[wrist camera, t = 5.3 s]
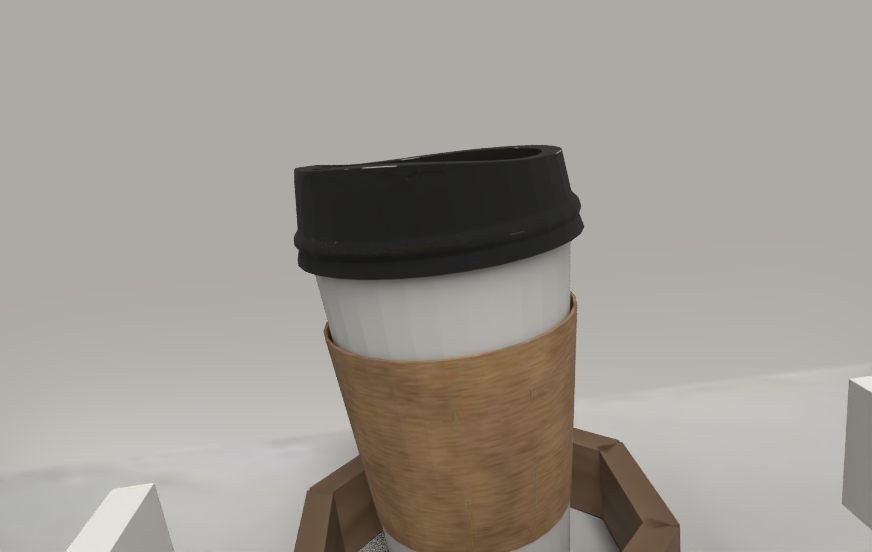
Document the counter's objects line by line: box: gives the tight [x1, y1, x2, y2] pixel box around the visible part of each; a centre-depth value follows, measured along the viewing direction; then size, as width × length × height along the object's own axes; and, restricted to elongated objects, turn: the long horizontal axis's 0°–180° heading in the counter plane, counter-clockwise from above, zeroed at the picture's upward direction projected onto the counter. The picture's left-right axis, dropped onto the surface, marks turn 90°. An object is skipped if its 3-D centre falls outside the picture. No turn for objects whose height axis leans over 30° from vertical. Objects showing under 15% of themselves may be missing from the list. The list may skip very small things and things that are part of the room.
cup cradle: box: [294, 428, 680, 552], centre depth 21 cm, size 12×12×3 cm
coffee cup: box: [294, 145, 584, 552], centre depth 20 cm, size 8×8×15 cm
